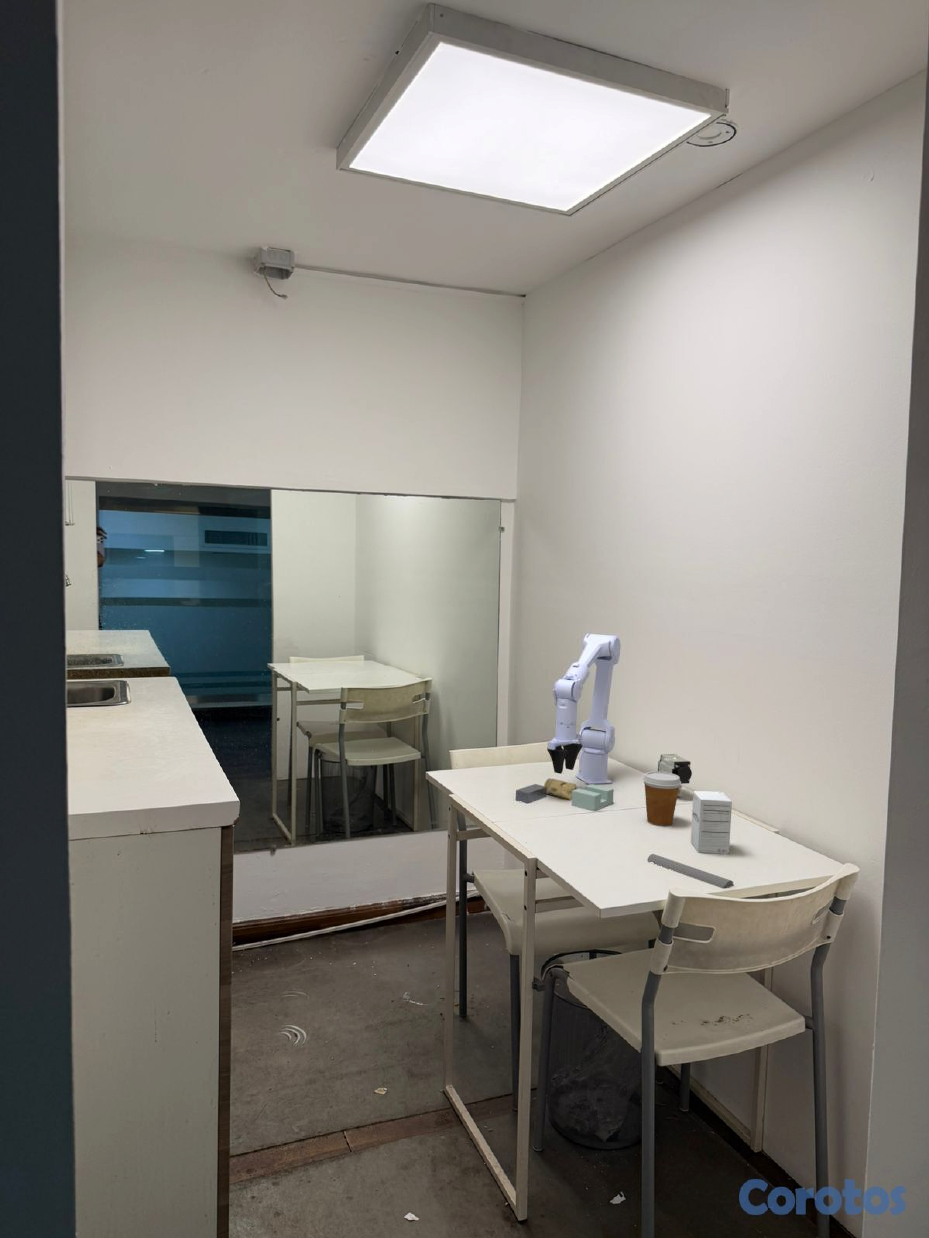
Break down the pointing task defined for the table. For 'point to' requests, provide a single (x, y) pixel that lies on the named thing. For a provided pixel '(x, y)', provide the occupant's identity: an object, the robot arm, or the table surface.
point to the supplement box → (711, 822)
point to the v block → (592, 797)
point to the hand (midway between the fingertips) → (563, 770)
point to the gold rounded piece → (560, 788)
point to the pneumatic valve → (676, 768)
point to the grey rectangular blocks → (531, 793)
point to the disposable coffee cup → (661, 797)
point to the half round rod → (690, 871)
